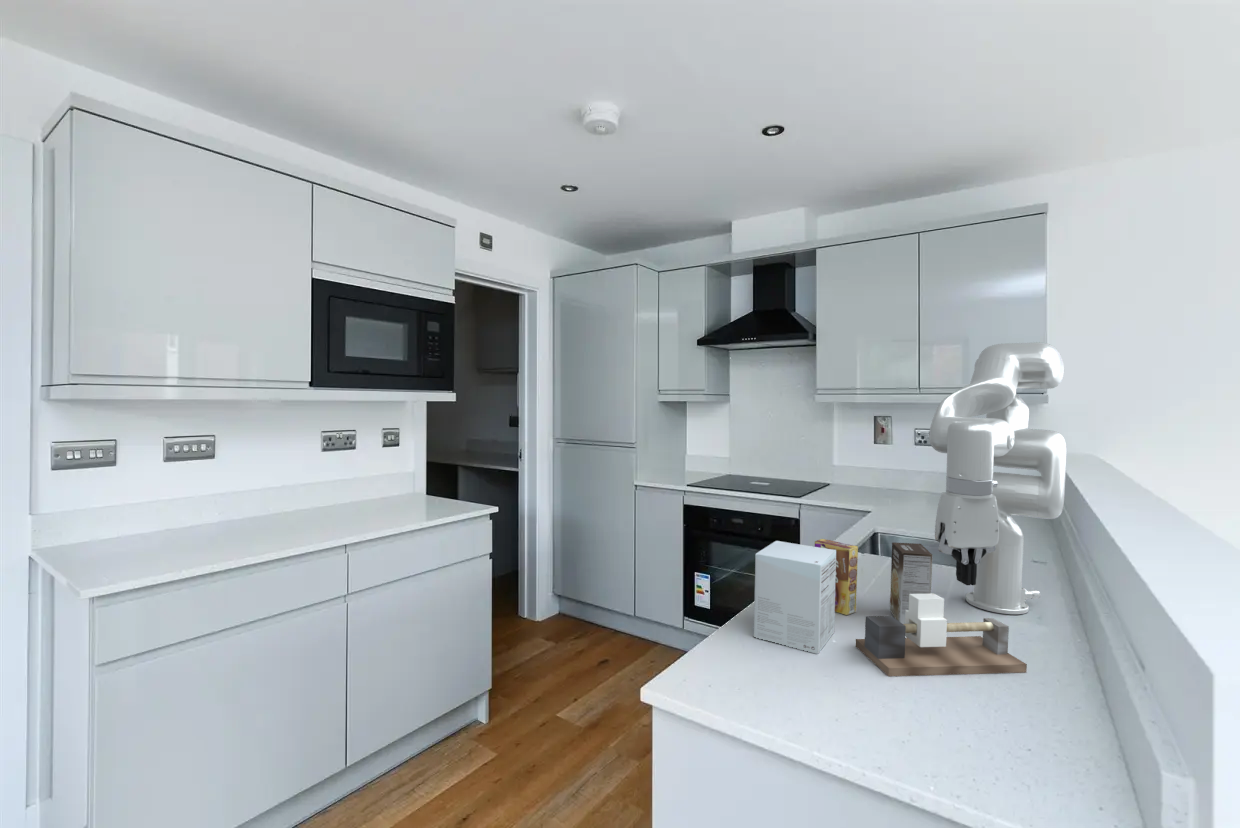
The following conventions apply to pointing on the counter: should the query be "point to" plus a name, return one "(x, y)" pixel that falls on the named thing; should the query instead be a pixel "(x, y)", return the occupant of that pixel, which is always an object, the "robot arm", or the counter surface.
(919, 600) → the stepped white block
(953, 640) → the wooden board rod assembly
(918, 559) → the coffee box
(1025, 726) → the counter surface
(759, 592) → the supplement box
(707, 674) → the counter surface
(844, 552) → the candy box
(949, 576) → the counter surface
